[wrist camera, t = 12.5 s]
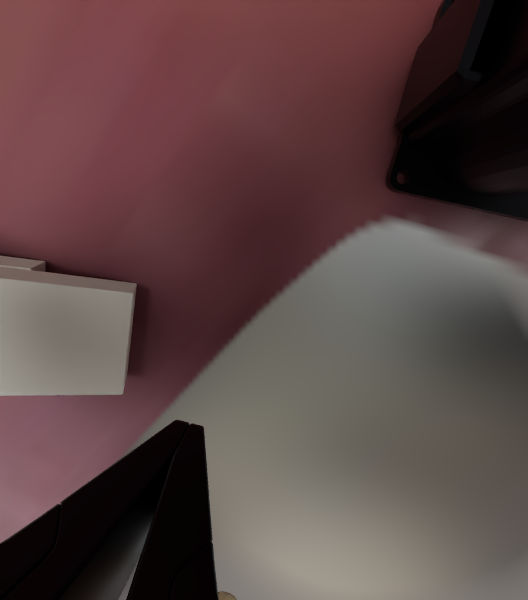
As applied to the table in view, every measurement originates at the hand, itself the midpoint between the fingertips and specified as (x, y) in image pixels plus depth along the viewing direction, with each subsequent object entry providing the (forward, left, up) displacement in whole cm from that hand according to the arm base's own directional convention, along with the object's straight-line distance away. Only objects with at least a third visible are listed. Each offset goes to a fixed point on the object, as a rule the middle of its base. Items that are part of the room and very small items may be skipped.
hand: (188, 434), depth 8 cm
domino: (+5, 0, -5) cm, 7 cm away
